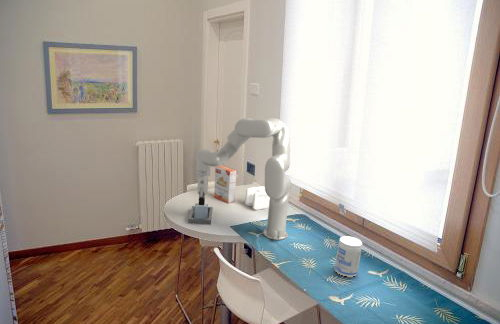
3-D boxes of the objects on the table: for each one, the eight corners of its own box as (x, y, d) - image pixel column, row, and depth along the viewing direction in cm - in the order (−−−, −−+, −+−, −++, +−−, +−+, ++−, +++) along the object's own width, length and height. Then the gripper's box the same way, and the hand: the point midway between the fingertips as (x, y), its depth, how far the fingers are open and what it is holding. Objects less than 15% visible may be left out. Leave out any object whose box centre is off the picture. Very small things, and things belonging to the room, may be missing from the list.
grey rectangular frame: (210, 224, 196) (211, 220, 195) (188, 223, 195) (188, 219, 195) (212, 211, 215) (212, 206, 215) (191, 209, 215) (191, 205, 214)
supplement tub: (332, 274, 155) (336, 242, 152) (336, 264, 164) (341, 233, 160) (355, 280, 151) (360, 247, 148) (359, 270, 160) (364, 239, 157)
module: (207, 219, 203) (207, 206, 202) (194, 218, 203) (194, 206, 201) (207, 215, 208) (208, 203, 206) (195, 215, 207) (195, 202, 206)
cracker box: (213, 197, 239) (215, 166, 234) (220, 195, 243) (222, 165, 238) (227, 203, 229) (229, 171, 225) (234, 202, 234) (237, 170, 229)
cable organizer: (264, 202, 237) (266, 185, 234) (274, 208, 228) (276, 190, 225) (244, 205, 228) (246, 187, 226) (254, 211, 220) (255, 193, 217)
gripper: (209, 176, 192) (207, 209, 197) (210, 169, 207) (209, 200, 211) (194, 175, 192) (193, 209, 196) (197, 168, 206) (195, 199, 211)
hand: (201, 204), depth 204 cm, fingers closed
